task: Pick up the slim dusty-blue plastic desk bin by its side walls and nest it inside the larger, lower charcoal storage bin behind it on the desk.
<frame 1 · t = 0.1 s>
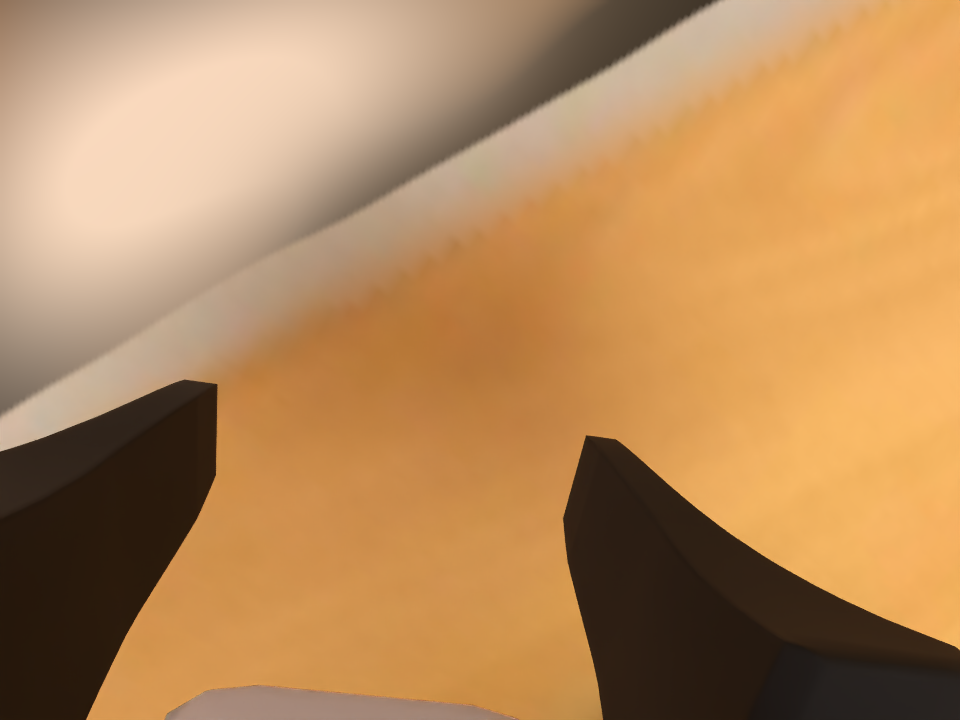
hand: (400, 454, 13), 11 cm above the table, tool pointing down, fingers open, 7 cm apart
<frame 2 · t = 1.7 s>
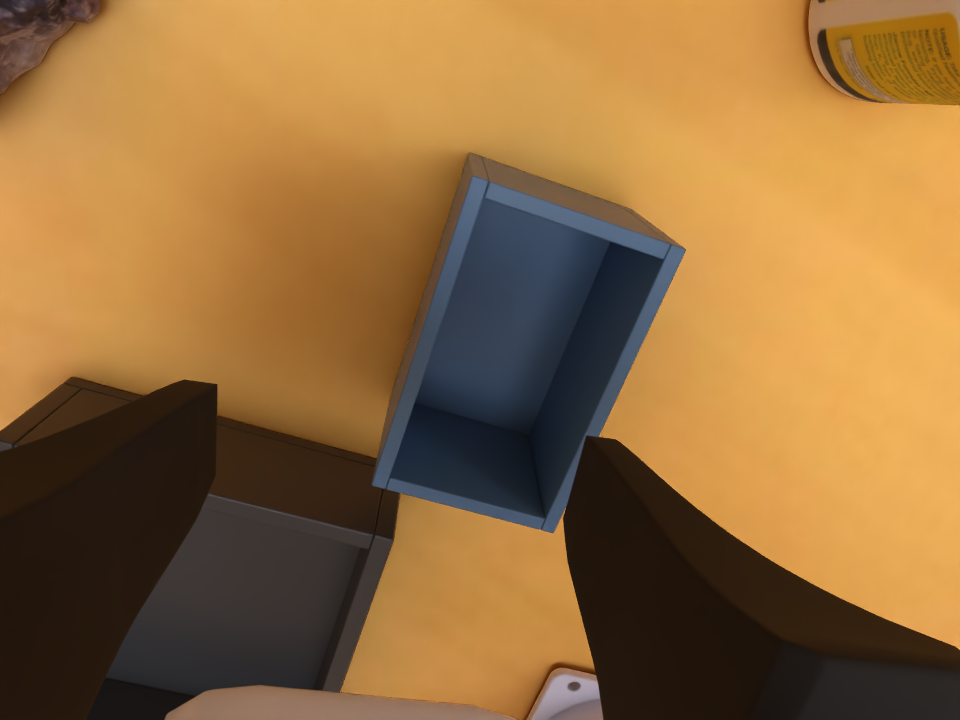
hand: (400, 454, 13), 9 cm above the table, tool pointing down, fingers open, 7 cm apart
supplement bottle: (886, 7, 18), on the table
charcoal bin: (210, 570, 24), on the table
blue bin: (504, 310, 21), on the table
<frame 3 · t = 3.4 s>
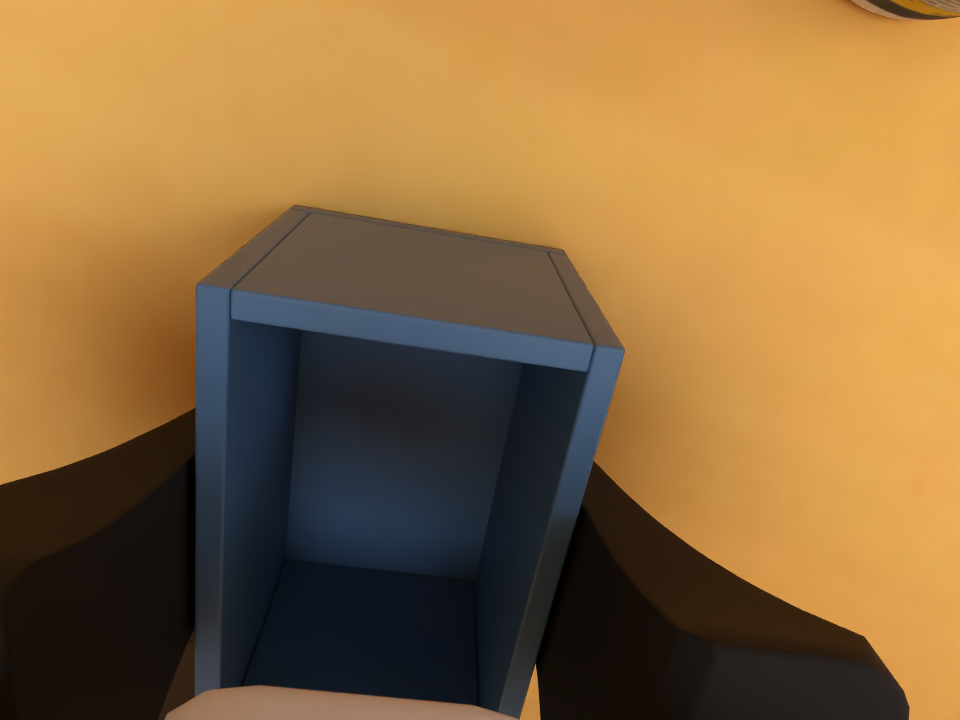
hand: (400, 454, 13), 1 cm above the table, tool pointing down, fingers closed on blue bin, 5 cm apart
blue bin: (403, 419, 14), on the table, touching gripper
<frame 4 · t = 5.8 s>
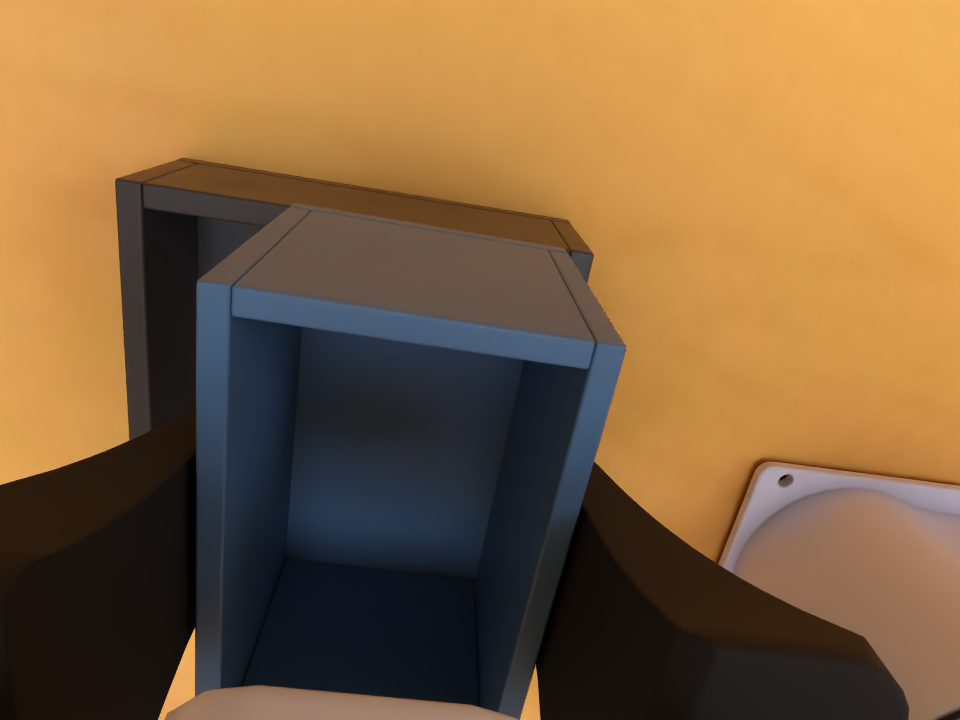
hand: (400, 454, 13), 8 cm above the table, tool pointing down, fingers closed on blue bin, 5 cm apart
charcoal bin: (360, 391, 21), on the table
blue bin: (404, 417, 14), point 7 cm above the table, touching gripper
when the fingers open (2 cm above the table, at t = 8.3 s): blue bin stays where it is, resting on charcoal bin.
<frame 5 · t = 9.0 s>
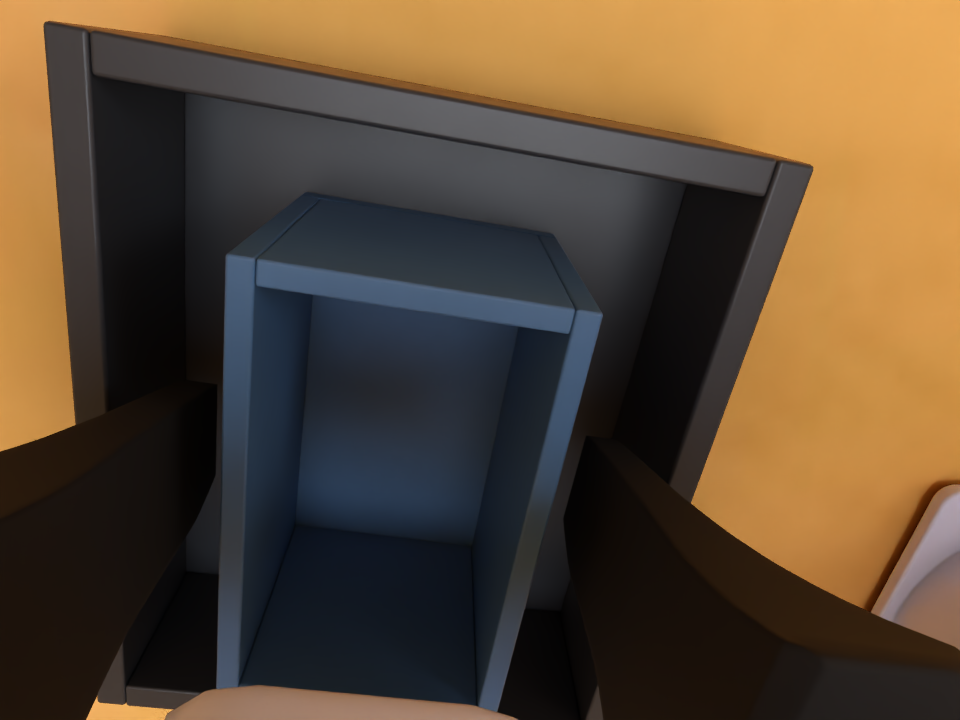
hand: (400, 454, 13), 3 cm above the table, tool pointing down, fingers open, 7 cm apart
charcoal bin: (409, 384, 16), on the table
blue bin: (405, 392, 15), resting on charcoal bin
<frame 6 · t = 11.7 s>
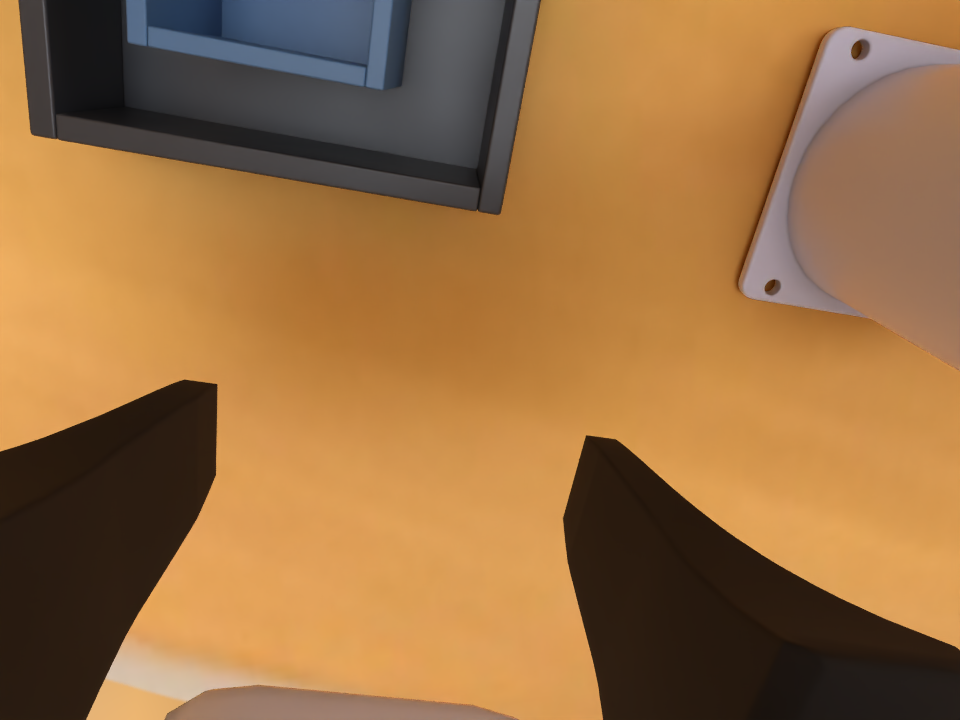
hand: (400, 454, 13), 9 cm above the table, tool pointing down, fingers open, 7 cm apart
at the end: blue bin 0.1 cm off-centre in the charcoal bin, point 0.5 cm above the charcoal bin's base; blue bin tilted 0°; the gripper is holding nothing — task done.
